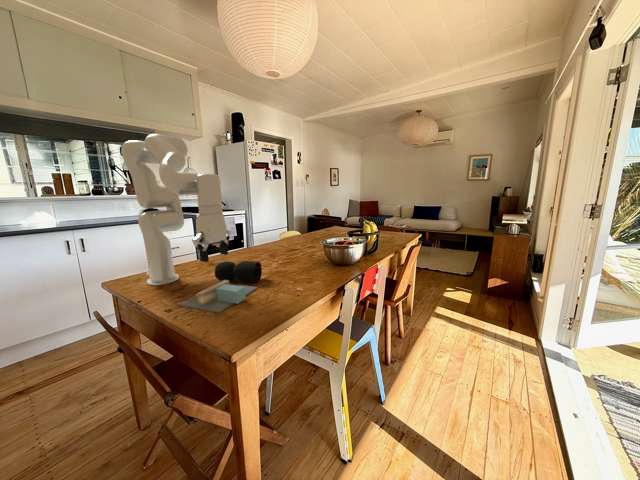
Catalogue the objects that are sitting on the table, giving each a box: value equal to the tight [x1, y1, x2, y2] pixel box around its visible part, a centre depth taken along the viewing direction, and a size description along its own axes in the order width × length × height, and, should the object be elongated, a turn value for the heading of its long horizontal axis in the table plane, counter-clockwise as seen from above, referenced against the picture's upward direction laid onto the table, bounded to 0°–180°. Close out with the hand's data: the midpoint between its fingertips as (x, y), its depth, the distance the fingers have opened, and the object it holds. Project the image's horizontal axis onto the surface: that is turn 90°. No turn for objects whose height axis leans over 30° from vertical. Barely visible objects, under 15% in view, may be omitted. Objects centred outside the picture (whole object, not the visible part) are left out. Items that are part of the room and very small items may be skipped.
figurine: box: [214, 260, 262, 284], centre depth 112 cm, size 9×9×20 cm
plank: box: [195, 280, 231, 305], centre depth 95 cm, size 2×14×4 cm, turn 160°
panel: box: [178, 283, 259, 314], centre depth 97 cm, size 18×22×1 cm
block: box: [216, 284, 247, 305], centre depth 92 cm, size 4×4×9 cm
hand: (214, 257), depth 91 cm, fingers open, 9 cm apart
